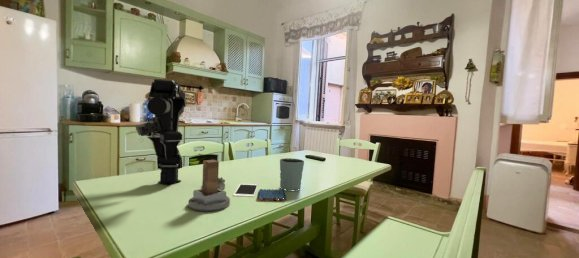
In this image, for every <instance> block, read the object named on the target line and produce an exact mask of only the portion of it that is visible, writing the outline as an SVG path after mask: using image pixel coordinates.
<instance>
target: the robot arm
mask: <svg viewBox="0 0 579 258" xmlns="http://www.w3.org/2000/svg"><path fill="white" fill-rule="evenodd" d="M148 97H149V98H150V99H149V101H148V103H147V104H146V105H147V110H148V112H149V113H151V114H152V115H154V116H153V117H152V118H151V121H147V122H143V123H141V124H139V125H135V129H136V132H137V134H138V136H140V137H144V136H145V137H147V139H148V140H150V141H151V142H152V145H153V148H154V152H155V155H156V165H157V169H158V170H160V176H159V177H160V179H159V181H157V184H161V185H168V186H170V185H171V186H172V185H174V184H177V183H181V182H182V180H180V179H179V169H182V168H183V158H182V155H181V154H180V150H179V147H178V145H179V143H181V141H183V134H182V133H181V131H179V123H180V117H181V116H182V114H183V113H184V112H185V108H186V106H187V96H186V93H185V92H184V90H182V89H181V85H180V84H178V83H176V81H175V80H173V79H160V78H159V79H158V78H154V80H153V81H152V82H151V86H150V90H149V93H148Z"/></svg>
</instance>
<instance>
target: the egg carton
mask: <svg viewBox="0 0 579 258" xmlns="http://www.w3.org/2000/svg"><path fill="white" fill-rule="evenodd" d="M225 182H226V180H225V179H224V178H223V177H218V188H219V189H221V190H223V191H224V190H225V189H226V184H225Z"/></svg>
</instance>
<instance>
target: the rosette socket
mask: <svg viewBox="0 0 579 258" xmlns="http://www.w3.org/2000/svg"><path fill="white" fill-rule="evenodd" d="M192 193H193V194H192V195H193V197H190V198H189V199H188V204H187V205H188V208H189V209H190V210H191V211H195V212H197V213H198V212H199V213H212V212H214V213H215V212H219V211H222V209H223V210H225V209H227V208H229V206H230V205H231V204H230V200H231V199H230V197H229V196H227V191H225V190H224V189H223V190H221V189H219V188H218V193H213V194H208V195H206V194H204V193H202V188H200V189H199V188H198V189H194V190H193V192H192Z"/></svg>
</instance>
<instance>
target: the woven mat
mask: <svg viewBox="0 0 579 258" xmlns="http://www.w3.org/2000/svg"><path fill="white" fill-rule="evenodd" d="M286 195H287V194H286V191H285V190H282V189H273V188H272V189H262V188H260V189H259V190H258V191H257V195H256V196H257V197H256V200H257V201H258V200H259V201H261V200H263V201H264V200H266V202H269V201H270V200H272V201H273V200H278V199H279V200H281V201H283V200H284V201H286V200H287V199H286ZM283 198H284V199H283ZM268 200H269V201H268Z"/></svg>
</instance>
